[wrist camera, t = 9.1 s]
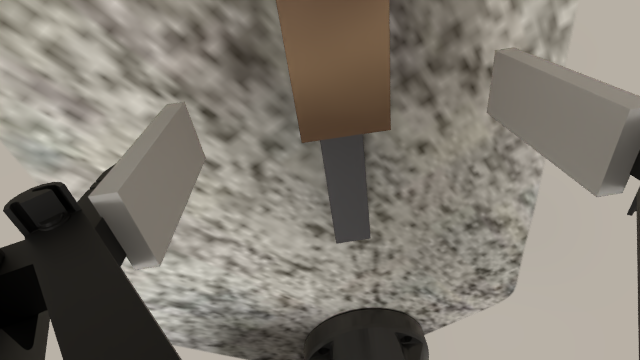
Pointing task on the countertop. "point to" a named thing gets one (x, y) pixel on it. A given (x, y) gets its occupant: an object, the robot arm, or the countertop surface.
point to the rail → (347, 187)
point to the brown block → (338, 65)
